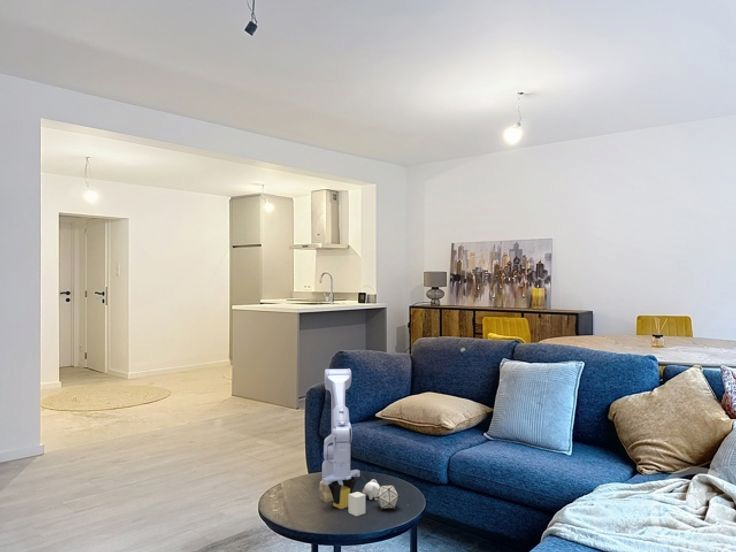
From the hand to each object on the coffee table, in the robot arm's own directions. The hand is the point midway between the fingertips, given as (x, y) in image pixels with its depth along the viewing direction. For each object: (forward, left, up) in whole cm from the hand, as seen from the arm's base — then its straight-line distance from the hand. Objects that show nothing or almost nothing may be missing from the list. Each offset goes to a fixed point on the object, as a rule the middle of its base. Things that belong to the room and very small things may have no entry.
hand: (341, 501), depth 192 cm
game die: (+12, +10, -2) cm, 16 cm away
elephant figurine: (+2, +13, -2) cm, 13 cm away
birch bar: (-8, 0, -2) cm, 8 cm away
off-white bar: (+8, 0, -2) cm, 8 cm away
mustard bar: (0, 0, -1) cm, 1 cm away
